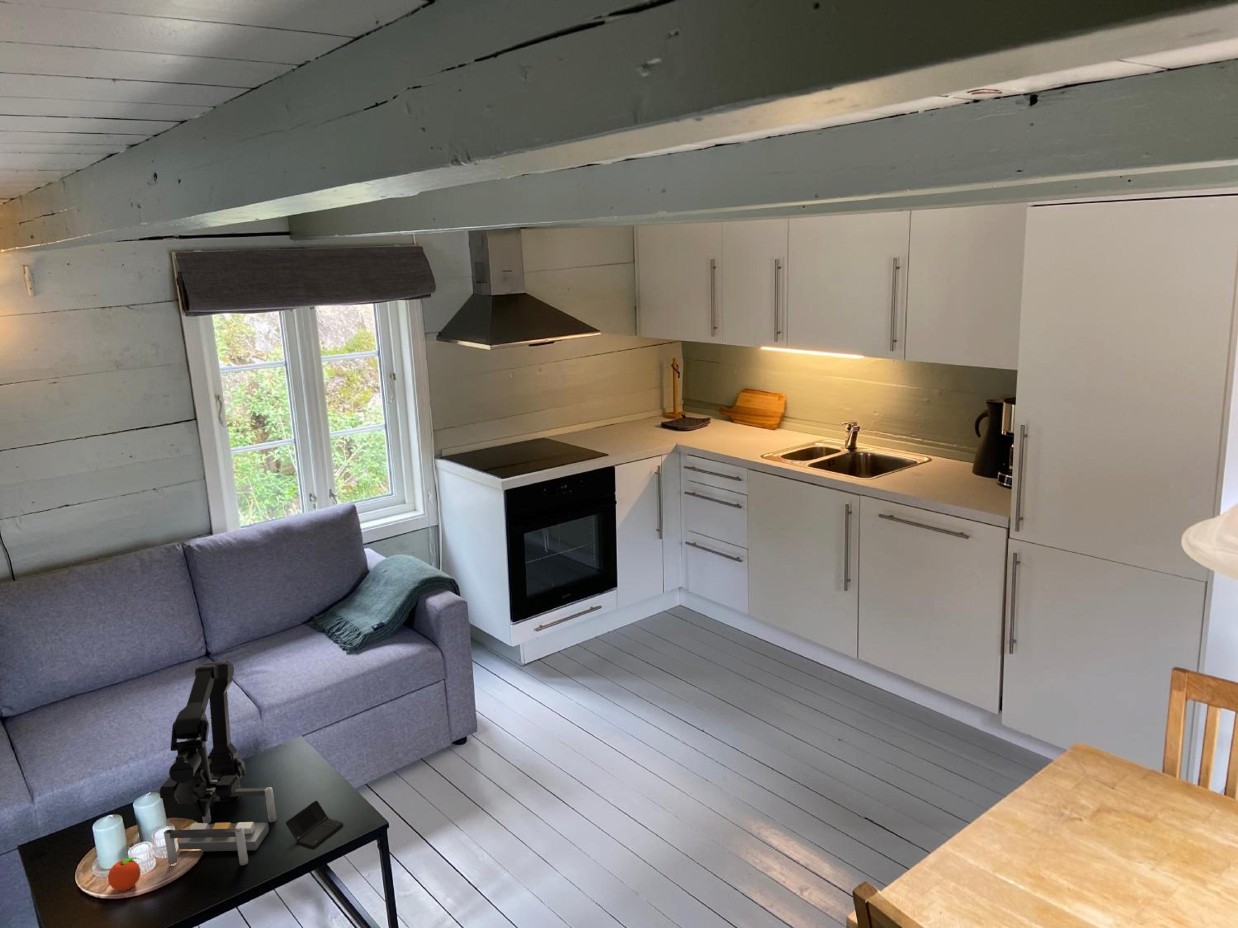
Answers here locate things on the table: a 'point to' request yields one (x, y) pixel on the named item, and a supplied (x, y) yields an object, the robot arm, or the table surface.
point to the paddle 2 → (246, 827)
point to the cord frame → (236, 832)
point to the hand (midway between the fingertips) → (204, 815)
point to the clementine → (124, 874)
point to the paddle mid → (222, 826)
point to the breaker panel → (226, 840)
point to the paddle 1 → (200, 826)
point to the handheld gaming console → (312, 825)
